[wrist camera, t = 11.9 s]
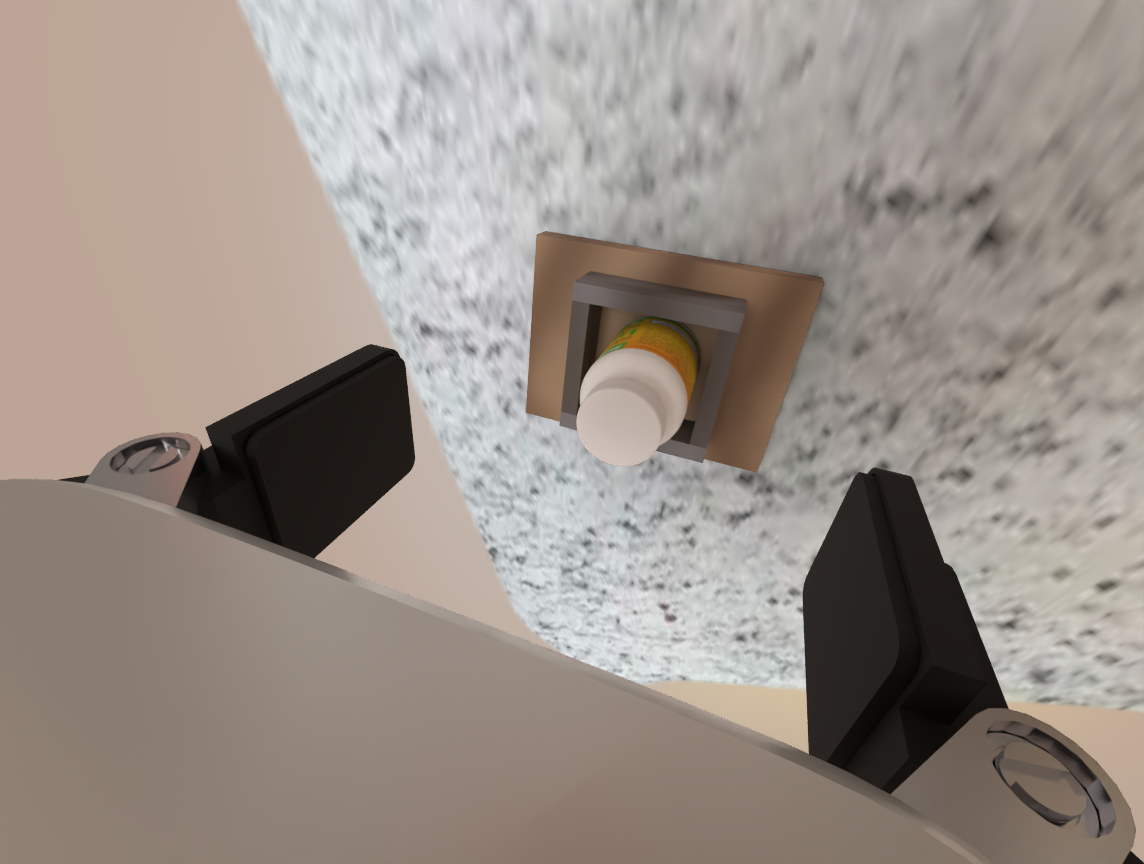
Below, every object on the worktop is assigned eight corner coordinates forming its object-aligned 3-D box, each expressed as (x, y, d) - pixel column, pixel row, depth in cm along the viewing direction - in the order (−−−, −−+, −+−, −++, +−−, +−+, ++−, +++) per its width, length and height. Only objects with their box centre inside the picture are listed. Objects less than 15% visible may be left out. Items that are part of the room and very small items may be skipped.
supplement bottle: (642, 295, 29) (594, 348, 21) (720, 345, 29) (703, 418, 21) (598, 366, 32) (542, 438, 24) (669, 412, 32) (636, 499, 24)
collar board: (821, 277, 27) (830, 297, 23) (757, 460, 33) (756, 499, 30) (546, 231, 31) (515, 242, 27) (534, 403, 37) (508, 432, 33)
